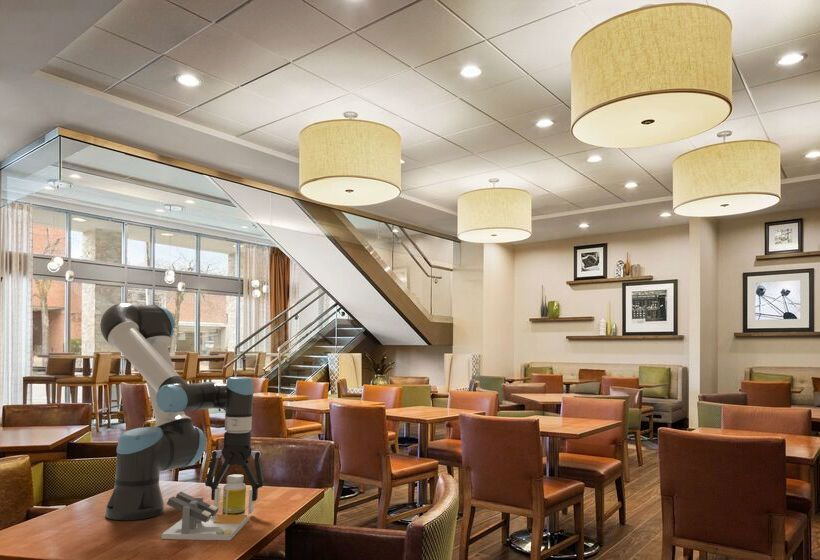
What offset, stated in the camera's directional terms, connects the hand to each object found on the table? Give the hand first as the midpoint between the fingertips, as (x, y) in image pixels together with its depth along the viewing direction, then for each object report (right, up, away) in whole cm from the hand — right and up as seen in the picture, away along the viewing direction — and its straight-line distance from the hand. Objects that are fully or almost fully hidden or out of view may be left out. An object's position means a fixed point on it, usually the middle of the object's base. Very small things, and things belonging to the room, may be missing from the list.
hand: (233, 512), depth 174 cm
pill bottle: (0, -1, 0) cm, 1 cm away
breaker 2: (-6, +7, -13) cm, 16 cm away
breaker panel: (-3, +1, -13) cm, 14 cm away
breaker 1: (-6, +8, -19) cm, 21 cm away
